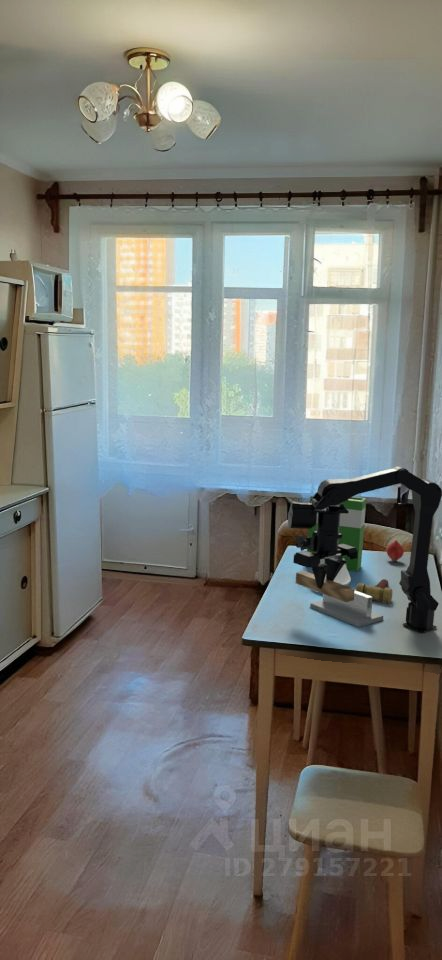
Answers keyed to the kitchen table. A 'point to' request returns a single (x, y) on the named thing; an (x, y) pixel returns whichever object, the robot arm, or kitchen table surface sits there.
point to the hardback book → (350, 529)
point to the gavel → (377, 591)
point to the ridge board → (345, 614)
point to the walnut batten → (326, 586)
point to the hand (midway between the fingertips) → (323, 587)
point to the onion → (395, 550)
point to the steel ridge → (353, 604)
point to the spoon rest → (343, 576)
